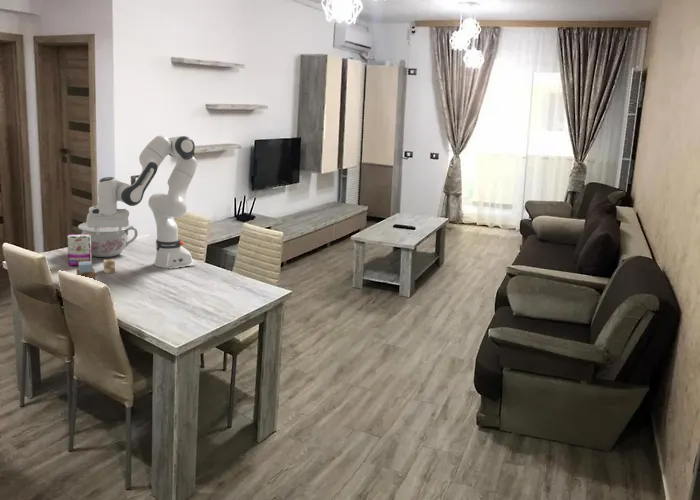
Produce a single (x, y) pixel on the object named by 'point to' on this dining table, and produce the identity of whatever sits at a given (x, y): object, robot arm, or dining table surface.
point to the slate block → (85, 267)
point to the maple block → (109, 266)
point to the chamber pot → (107, 239)
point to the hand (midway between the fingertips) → (108, 235)
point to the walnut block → (87, 274)
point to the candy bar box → (79, 249)
